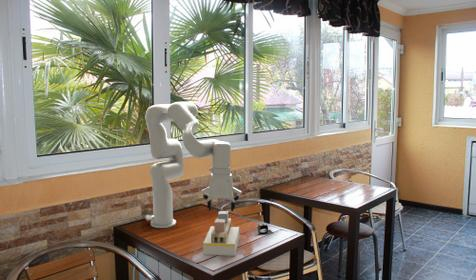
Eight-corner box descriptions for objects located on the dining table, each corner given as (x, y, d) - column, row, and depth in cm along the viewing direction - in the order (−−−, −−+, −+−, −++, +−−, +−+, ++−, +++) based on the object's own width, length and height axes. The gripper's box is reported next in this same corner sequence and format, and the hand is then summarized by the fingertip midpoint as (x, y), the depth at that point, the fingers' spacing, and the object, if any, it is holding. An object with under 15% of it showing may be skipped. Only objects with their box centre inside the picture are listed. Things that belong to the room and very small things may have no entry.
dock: (203, 254, 163) (203, 243, 162) (211, 236, 183) (210, 226, 183) (234, 255, 162) (234, 244, 161) (239, 237, 182) (239, 227, 181)
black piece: (253, 237, 183) (253, 228, 183) (247, 232, 190) (247, 223, 190) (278, 234, 187) (278, 225, 186) (272, 229, 194) (272, 220, 193)
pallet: (211, 243, 163) (211, 233, 162) (217, 226, 182) (217, 217, 182) (225, 243, 162) (225, 233, 162) (231, 226, 182) (230, 218, 181)
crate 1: (218, 222, 175) (218, 213, 175) (219, 219, 179) (219, 210, 179) (227, 222, 175) (227, 213, 175) (228, 219, 179) (228, 211, 179)
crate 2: (214, 231, 164) (214, 222, 164) (215, 228, 168) (215, 219, 168) (224, 231, 164) (224, 222, 163) (225, 228, 168) (225, 219, 167)
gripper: (199, 172, 166) (199, 212, 168) (241, 173, 164) (240, 213, 167) (202, 168, 173) (202, 206, 176) (242, 169, 172) (241, 208, 174)
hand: (221, 210), depth 171 cm, fingers open, 9 cm apart
